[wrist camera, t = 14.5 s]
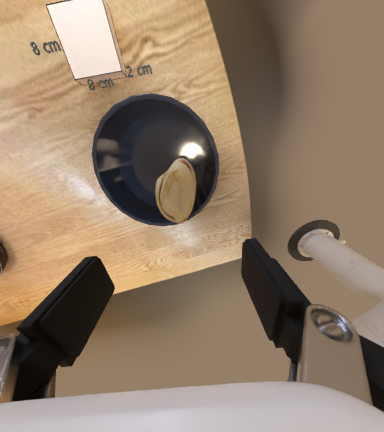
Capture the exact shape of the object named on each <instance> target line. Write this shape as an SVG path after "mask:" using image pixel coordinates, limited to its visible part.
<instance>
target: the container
mask: <svg viewBox="0 0 384 432" xmlns="http://www.w3.org/2000/svg"><path fill="white" fill-rule="evenodd" d="M46 7H47V10H48V12H49V15H50V18H51V20H52V23H53V25H54V28H55V30H56V33H57V36H58V38H59V41H60V43H61V46H62V48H63V51H64V54H65V56H66V59H67V61H68V64H69V66H70V69H71V71H72V74H73V77H74V79H75V81H77V82H79V83H80V84H82V85H87V84H89V88H90V89H91V85H92V86H93V89H91V90H95V86H94V85H93V83H98V82H99V86H100V87H101V88H105V87H104V86H103V87H102V86H101V84H100V82H103V81H104V83H105V86H106V88H107V85H106V81H108V84H109V87H111V86H110V82H109V80H111V82H112V85H113V86H114V83H113V80H114V79H120V78H125V77H127V75H126V71H125V67H124V64H123V60H122V56H121V52H120V49H119V45H118V41H117V37H116V33H115V30H114V26H113V22H112V18H111V14H110V11H109V7H108V5H107V3H106V1H105V0H65V1H60V2H56V3H51V4H46ZM55 43H56V44H57V46H58V49H59V50H60V51H61V49H60V46H59V44H58V43H57V42H56V41H53V42H48V44H49V47H50V49H51V51H52V52H53V49H52V47H51V44H53V46H54V49H55V51H57V49H56V47H55ZM33 44H35V47H33ZM48 44H47V43H43V48H44V50H45V51H46V52H48V53H51V51H50V50H49V51H47V50H46V48H45V46H46V45H48ZM30 45H31V47H32V48H33V52H34V53H35V54H36V55H40V51H39V49H37V45H36V43H34V42H31V43H30ZM36 49H37V51H38V53H36V52H35V50H36ZM148 67H150V65H147V67H146V66H144V67H143V66H142V68H143V73H144V75H145V72H144V68H146V70H147V74H148V69H147V68H148ZM126 68H130V72H129V75H128V77H133V75H130V74H131V71H132V70H131V67H130V66H127V67H126ZM140 68H141V67H138V68H137V72H138V74H139V75H143V74H142V73H141V74H140V73H139V69H140ZM150 71H151V67H150ZM151 73H152V71H151Z"/></svg>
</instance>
